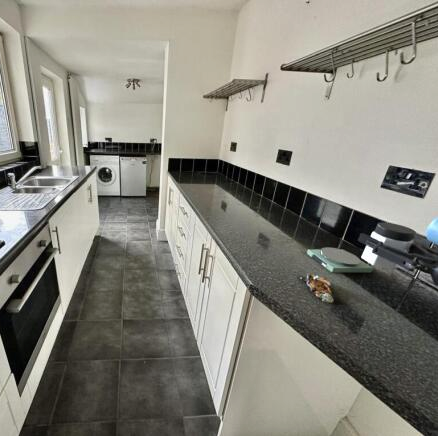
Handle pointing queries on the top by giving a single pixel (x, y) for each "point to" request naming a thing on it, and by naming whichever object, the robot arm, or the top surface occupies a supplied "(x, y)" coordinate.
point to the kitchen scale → (338, 267)
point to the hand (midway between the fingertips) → (373, 236)
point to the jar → (389, 243)
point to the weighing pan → (340, 256)
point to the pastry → (320, 287)
